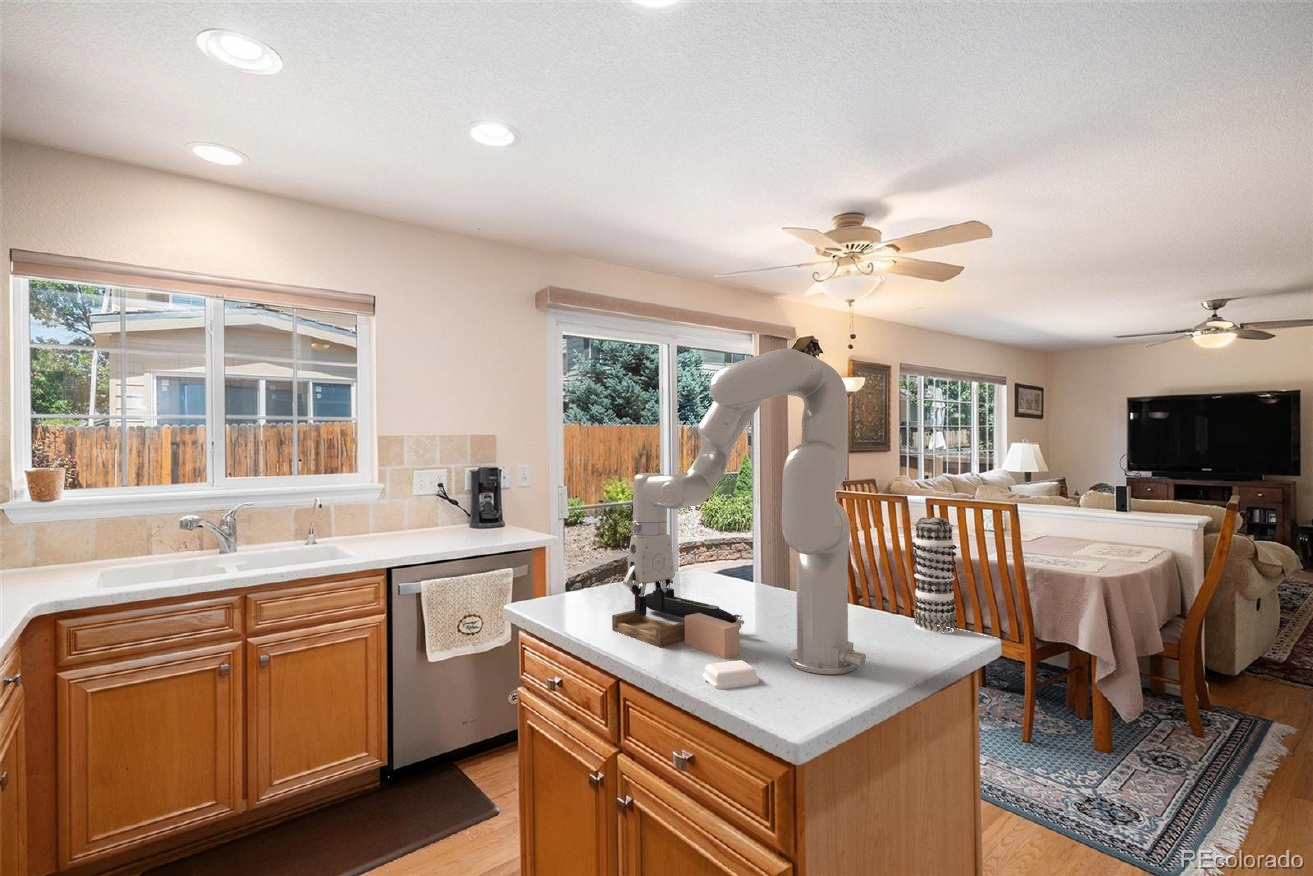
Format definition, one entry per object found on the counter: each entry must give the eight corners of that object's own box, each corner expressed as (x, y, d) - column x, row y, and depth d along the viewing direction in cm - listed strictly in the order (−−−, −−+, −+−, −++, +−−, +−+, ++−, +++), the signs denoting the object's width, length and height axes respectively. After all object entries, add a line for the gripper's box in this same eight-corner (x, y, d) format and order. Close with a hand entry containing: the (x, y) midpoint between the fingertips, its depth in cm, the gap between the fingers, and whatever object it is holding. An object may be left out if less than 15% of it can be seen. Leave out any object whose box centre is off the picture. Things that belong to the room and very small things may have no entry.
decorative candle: (949, 638, 136) (948, 521, 137) (906, 630, 143) (905, 518, 143) (963, 629, 143) (962, 518, 143) (921, 621, 149) (920, 515, 150)
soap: (744, 672, 118) (744, 656, 118) (762, 685, 111) (762, 668, 111) (699, 678, 115) (699, 662, 115) (715, 692, 108) (714, 675, 109)
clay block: (739, 655, 127) (738, 625, 127) (724, 659, 124) (724, 629, 124) (699, 640, 136) (698, 612, 136) (684, 644, 134) (684, 616, 134)
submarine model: (752, 634, 139) (749, 589, 138) (732, 643, 134) (729, 596, 134) (655, 610, 162) (653, 571, 162) (635, 617, 157) (633, 576, 157)
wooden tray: (690, 638, 137) (690, 622, 137) (660, 647, 131) (660, 630, 131) (642, 623, 149) (642, 608, 149) (612, 630, 143) (612, 615, 143)
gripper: (631, 534, 132) (631, 622, 132) (689, 527, 143) (688, 608, 143) (609, 530, 138) (608, 615, 137) (666, 524, 149) (666, 602, 149)
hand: (649, 610), depth 140 cm, fingers open, 4 cm apart
